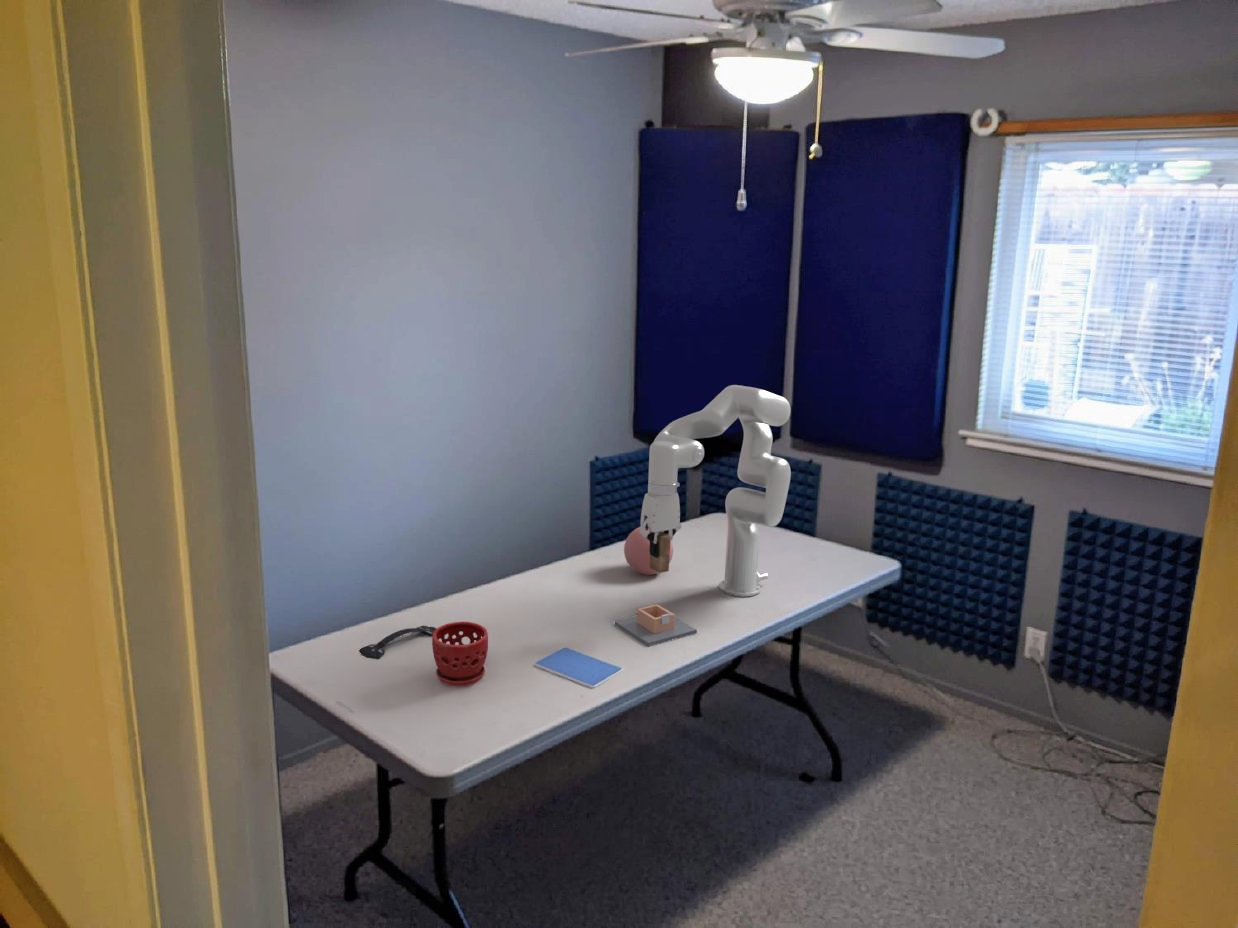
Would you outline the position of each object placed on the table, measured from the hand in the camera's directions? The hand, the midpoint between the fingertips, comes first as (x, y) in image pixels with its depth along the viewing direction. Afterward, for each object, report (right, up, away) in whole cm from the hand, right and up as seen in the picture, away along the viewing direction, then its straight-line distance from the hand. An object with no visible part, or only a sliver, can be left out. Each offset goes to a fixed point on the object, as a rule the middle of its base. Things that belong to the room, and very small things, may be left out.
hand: (659, 554), depth 252 cm
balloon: (0, -10, +48) cm, 49 cm away
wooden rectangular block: (0, -4, +1) cm, 4 cm away
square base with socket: (-1, -21, +5) cm, 22 cm away
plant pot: (-49, -28, -25) cm, 61 cm away
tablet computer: (-21, -27, -18) cm, 39 cm away
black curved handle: (-67, -23, -6) cm, 72 cm away
